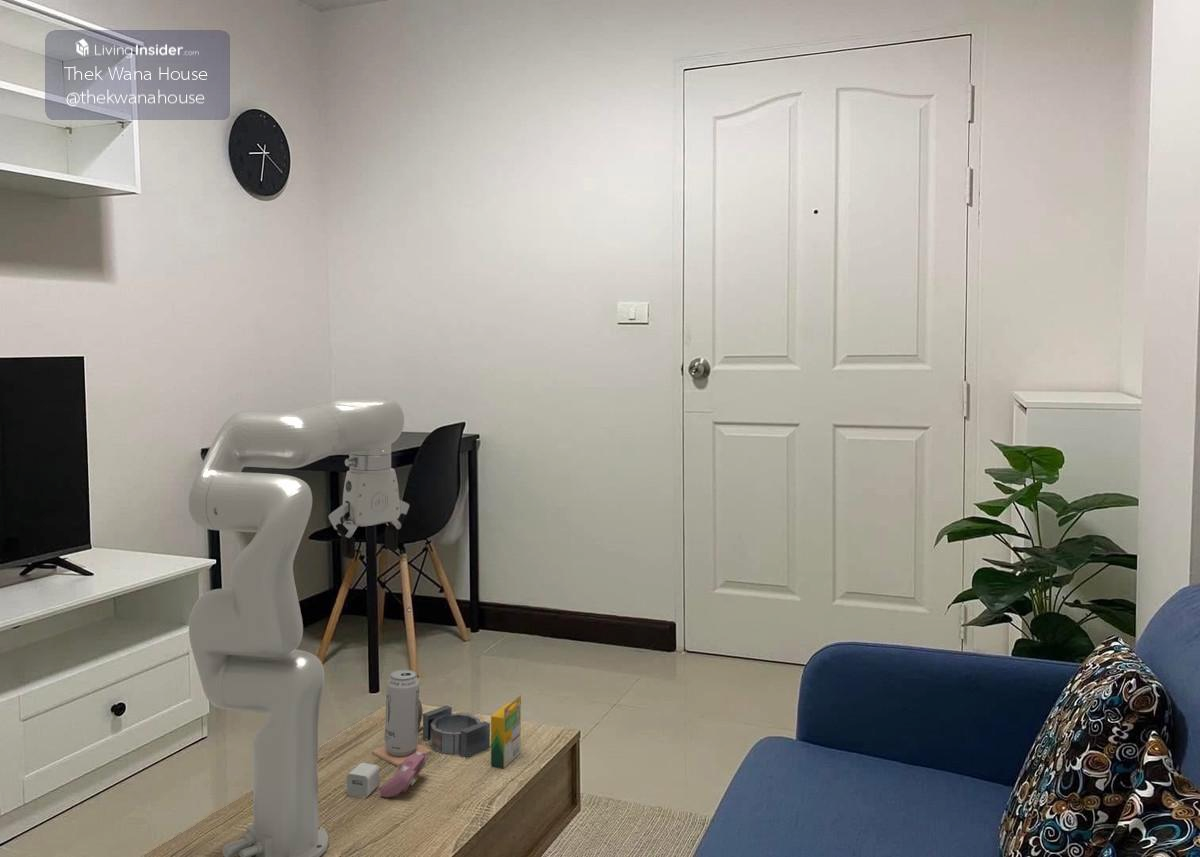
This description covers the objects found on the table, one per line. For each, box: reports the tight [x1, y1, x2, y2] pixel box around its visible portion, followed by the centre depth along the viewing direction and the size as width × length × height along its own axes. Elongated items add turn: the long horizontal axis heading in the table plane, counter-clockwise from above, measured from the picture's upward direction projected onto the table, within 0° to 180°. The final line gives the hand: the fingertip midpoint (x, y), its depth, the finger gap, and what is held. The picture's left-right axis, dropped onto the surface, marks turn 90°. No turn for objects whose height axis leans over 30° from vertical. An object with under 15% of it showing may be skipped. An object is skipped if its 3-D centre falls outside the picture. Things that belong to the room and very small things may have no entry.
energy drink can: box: [384, 669, 420, 756], centre depth 181 cm, size 6×6×15 cm
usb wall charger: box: [346, 762, 382, 799], centre depth 168 cm, size 4×7×4 cm, turn 167°
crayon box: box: [490, 695, 522, 770], centre depth 180 cm, size 7×3×12 cm, turn 160°
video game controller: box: [379, 751, 429, 798], centre depth 168 cm, size 10×5×7 cm, turn 169°
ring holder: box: [422, 705, 491, 759], centre depth 186 cm, size 13×10×5 cm
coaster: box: [371, 743, 433, 768], centre depth 182 cm, size 8×8×1 cm
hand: (370, 553), depth 179 cm, fingers open, 9 cm apart
